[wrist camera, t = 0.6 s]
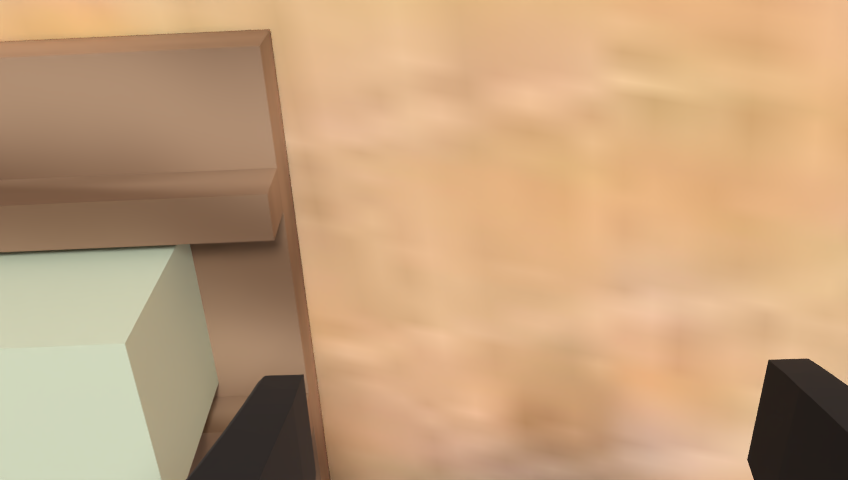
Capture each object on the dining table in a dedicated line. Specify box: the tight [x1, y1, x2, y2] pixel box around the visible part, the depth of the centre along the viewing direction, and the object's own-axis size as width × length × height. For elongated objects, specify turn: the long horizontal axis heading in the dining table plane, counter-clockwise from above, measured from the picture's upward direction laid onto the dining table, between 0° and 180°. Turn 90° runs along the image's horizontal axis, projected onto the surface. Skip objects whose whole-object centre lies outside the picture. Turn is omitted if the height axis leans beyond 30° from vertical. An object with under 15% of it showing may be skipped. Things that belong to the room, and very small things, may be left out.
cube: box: [0, 244, 219, 480], centre depth 20 cm, size 5×5×5 cm
